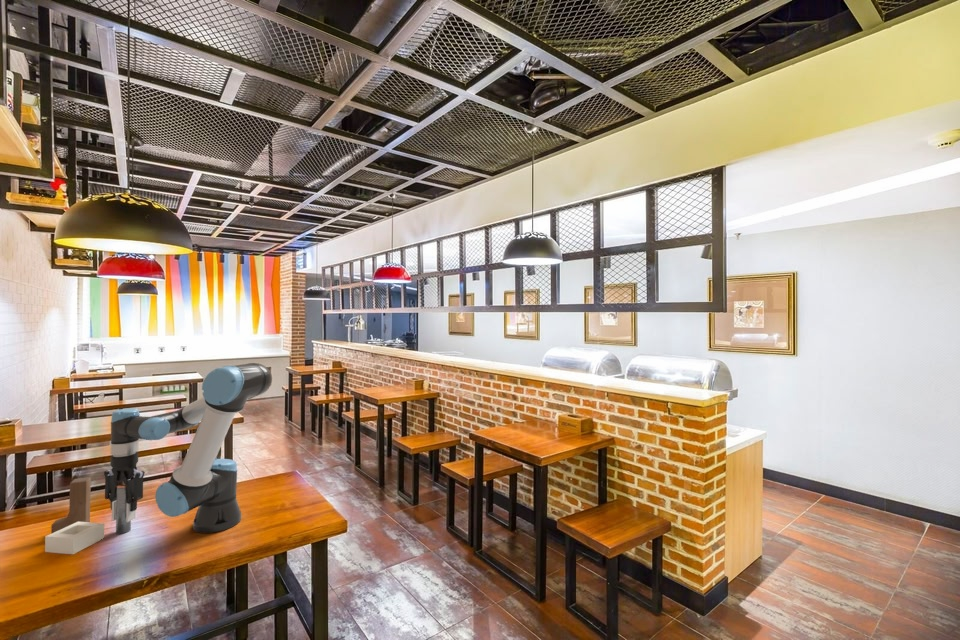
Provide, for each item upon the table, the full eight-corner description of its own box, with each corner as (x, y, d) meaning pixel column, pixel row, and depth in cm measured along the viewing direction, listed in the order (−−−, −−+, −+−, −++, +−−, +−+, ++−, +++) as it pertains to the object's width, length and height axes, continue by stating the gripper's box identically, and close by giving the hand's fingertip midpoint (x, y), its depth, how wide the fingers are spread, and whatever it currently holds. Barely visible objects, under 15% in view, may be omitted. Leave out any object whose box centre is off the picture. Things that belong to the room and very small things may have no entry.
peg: (133, 528, 150) (134, 482, 150) (123, 534, 146) (124, 486, 146) (123, 528, 151) (124, 481, 151) (112, 533, 147) (113, 486, 147)
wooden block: (50, 538, 143) (51, 485, 143) (56, 531, 147) (57, 480, 147) (85, 532, 147) (86, 480, 147) (90, 526, 151) (91, 476, 151)
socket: (104, 538, 144) (104, 523, 144) (73, 554, 134) (73, 538, 134) (77, 536, 145) (78, 521, 145) (45, 552, 135) (45, 536, 135)
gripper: (157, 451, 151) (156, 516, 151) (112, 448, 153) (110, 512, 153) (138, 458, 144) (137, 526, 144) (90, 455, 146) (89, 522, 146)
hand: (123, 519), depth 148 cm, fingers open, 5 cm apart
